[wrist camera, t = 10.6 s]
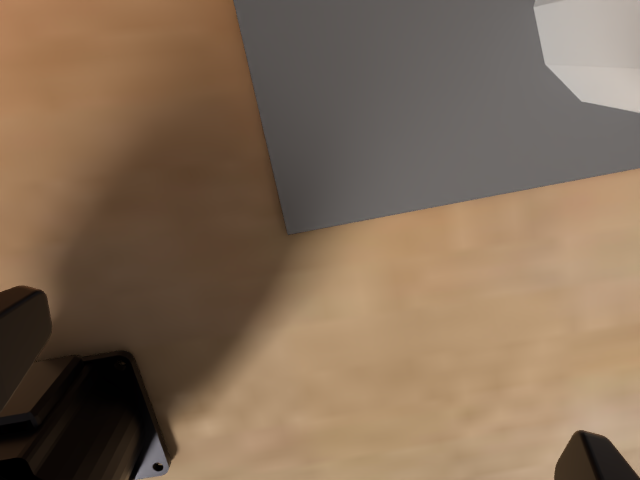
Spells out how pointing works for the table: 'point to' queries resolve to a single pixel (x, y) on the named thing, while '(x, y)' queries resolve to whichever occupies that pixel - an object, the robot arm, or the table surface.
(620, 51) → the cover cup
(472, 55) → the mat
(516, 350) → the table surface
